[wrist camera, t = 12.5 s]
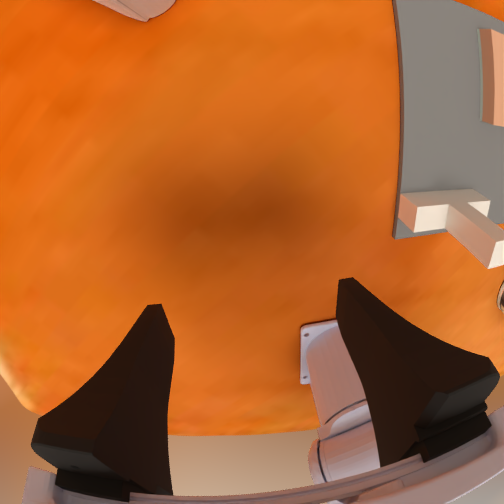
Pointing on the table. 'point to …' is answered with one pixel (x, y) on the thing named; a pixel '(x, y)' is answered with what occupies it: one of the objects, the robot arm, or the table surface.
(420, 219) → the beige t-shaped block
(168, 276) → the table surface
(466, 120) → the mat
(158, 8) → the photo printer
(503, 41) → the tile
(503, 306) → the coffee can
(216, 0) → the table surface
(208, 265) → the table surface
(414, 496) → the robot arm
